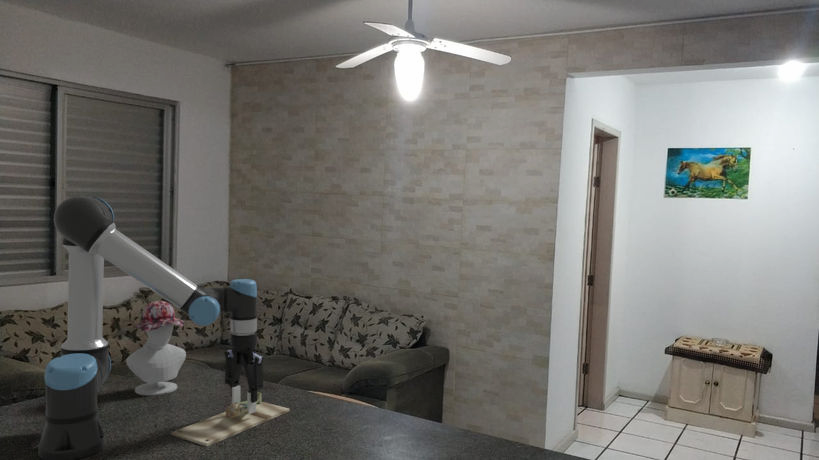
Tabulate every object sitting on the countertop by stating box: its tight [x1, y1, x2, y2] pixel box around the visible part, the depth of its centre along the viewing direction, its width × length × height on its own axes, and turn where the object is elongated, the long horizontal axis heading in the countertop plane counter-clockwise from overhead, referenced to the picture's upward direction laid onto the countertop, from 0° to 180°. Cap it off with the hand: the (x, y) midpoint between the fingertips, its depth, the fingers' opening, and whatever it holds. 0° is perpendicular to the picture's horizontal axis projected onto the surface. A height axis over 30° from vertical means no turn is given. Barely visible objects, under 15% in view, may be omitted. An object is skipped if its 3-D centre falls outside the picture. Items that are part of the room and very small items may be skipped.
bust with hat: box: [125, 300, 187, 396], centre depth 210 cm, size 19×18×30 cm
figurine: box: [225, 391, 262, 418], centre depth 186 cm, size 6×15×4 cm, turn 154°
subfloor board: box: [170, 401, 291, 447], centre depth 183 cm, size 32×14×1 cm, turn 149°
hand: (243, 410), depth 186 cm, fingers closed on figurine, 6 cm apart
